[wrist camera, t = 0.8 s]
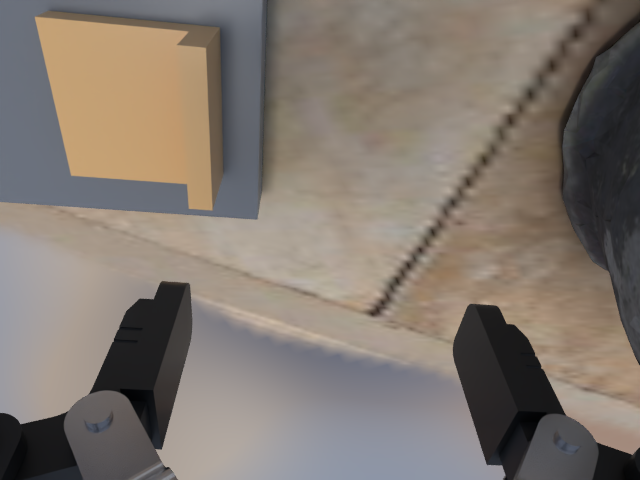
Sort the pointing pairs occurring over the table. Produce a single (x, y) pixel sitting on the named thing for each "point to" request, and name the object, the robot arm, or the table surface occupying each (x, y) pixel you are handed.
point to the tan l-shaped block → (137, 99)
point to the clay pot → (609, 173)
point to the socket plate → (117, 194)
